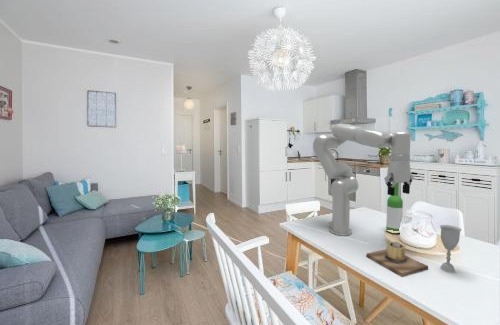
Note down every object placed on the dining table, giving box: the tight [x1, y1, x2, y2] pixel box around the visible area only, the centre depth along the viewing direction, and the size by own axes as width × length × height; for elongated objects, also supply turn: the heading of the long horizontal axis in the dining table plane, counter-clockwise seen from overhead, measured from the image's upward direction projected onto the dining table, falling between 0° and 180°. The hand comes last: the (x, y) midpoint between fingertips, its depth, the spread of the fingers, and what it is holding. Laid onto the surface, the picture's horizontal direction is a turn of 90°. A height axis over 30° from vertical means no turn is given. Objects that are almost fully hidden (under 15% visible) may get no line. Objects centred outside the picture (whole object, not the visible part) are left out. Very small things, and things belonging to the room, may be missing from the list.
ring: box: [386, 241, 406, 260], centre depth 108 cm, size 7×7×5 cm
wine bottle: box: [385, 183, 404, 231], centre depth 141 cm, size 8×8×30 cm
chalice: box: [439, 224, 463, 274], centre depth 101 cm, size 7×7×18 cm
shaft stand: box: [365, 241, 429, 277], centre depth 108 cm, size 18×15×9 cm
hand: (398, 194), depth 117 cm, fingers open, 9 cm apart
